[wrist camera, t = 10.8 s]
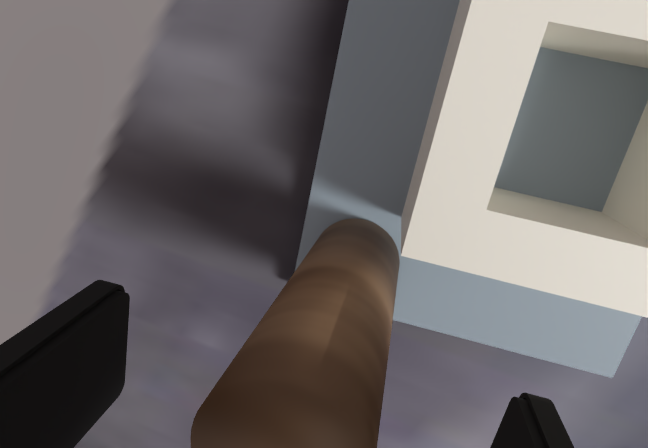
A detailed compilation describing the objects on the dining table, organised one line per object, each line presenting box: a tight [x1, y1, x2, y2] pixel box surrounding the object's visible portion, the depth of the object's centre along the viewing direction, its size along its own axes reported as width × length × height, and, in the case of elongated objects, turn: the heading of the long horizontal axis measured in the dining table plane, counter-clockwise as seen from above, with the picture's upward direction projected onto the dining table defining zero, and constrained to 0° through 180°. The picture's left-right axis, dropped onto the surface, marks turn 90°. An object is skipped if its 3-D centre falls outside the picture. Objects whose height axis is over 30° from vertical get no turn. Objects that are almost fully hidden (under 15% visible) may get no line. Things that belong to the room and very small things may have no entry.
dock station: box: [295, 0, 648, 378], centre depth 15 cm, size 25×15×6 cm, turn 168°
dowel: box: [191, 218, 400, 448], centre depth 15 cm, size 4×4×12 cm
